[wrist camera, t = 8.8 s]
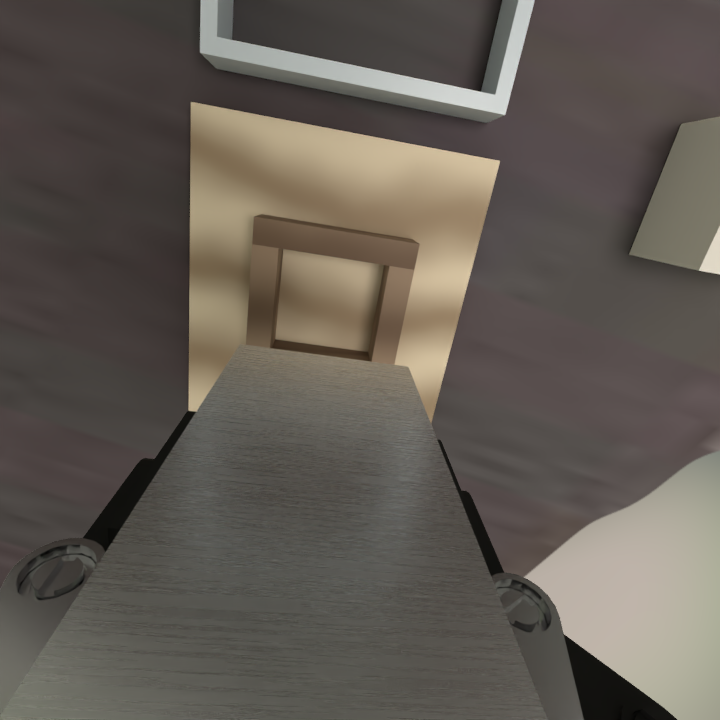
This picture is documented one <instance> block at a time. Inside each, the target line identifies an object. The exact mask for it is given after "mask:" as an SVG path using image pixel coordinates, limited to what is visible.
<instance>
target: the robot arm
mask: <svg viewBox="0 0 720 720" xmlns="http://www.w3.org/2000/svg"><path fill="white" fill-rule="evenodd" d="M195 413H196V412H194V411H188V412H187V413H186V414H185V416H184V417H183V418H182V420H181V421H180V423H179V424H178V426H177V427H176V429H175V430H174V432H173V433H172V435H171V436H170V437H169V439H168V440H167V442H166V443H165V445H164V446H163V448H162V449H161V451H160V452H159V454H158V455H157V456H156V458H155V459H147V458H144V459H142V460H141V461H140V462H139V463H138V464H137V465H136V467H135V468H134V469H133V471H132V472H131V473H130V475H129V476H128V477H127V479H126V480H125V482H124V483H123V484H122V486H121V487H120V488H119V490H118V491H117V492H116V494H115V495H114V496H113V498H112V499H111V501H110V502H109V503H108V505H107V506H106V507H105V509H104V510H103V511H102V513H101V514H100V515H99V517H98V518H97V520H96V521H95V522H94V524H93V525H92V526H91V528H90V529H89V530H88V532H87V533H86V535H85V536H84V537H83V538H68V539H63V540H59V541H54V542H52V543H49V544H47V545H44V546H42V547H39V548H38V549H36V550H34V551H33V552H31V553H29V554H28V555H26V556H25V557H24V558H23V559H21V560H20V561H19V562H18V563H17V564H16V565H15V566H14V567H13V568H12V570H11V571H10V573H9V574H8V576H7V577H6V579H5V581H4V583H3V585H2V587H1V589H0V715H1V714H2V712H3V710H4V709H5V707H6V706H7V704H8V703H9V701H10V700H11V698H12V696H13V695H14V693H15V692H16V690H17V689H18V687H19V686H20V684H21V683H22V681H23V679H24V678H25V676H26V675H27V673H28V672H29V670H30V669H31V667H32V666H33V664H34V662H35V661H36V659H37V658H38V656H39V655H40V653H41V652H42V650H43V648H44V647H45V645H46V644H47V642H48V641H49V639H50V638H51V636H52V635H53V633H54V631H55V630H56V628H57V627H58V625H59V624H60V622H61V621H62V619H63V617H64V616H65V614H66V613H67V611H68V610H69V608H70V607H71V605H72V604H73V602H74V600H75V599H76V597H77V596H78V594H79V593H80V591H81V590H82V588H83V586H84V585H85V583H86V582H87V580H88V579H89V577H90V576H91V574H92V573H93V571H94V569H95V568H96V566H97V565H98V563H99V562H100V560H101V559H102V557H103V556H104V554H105V552H106V551H107V549H108V548H109V546H110V545H111V543H112V542H113V540H114V538H115V537H116V535H117V534H118V532H119V531H120V529H121V528H122V526H123V525H124V523H125V521H126V520H127V518H128V517H129V515H130V514H131V512H132V511H133V509H134V507H135V506H136V504H137V503H138V501H139V500H140V498H141V497H142V495H143V494H144V492H145V490H146V489H147V487H148V486H149V484H150V483H151V481H152V480H153V478H154V476H155V475H156V473H157V472H158V470H159V469H160V467H161V466H162V464H163V463H164V461H165V459H166V458H167V456H168V455H169V453H170V452H171V450H172V449H173V447H174V445H175V444H176V442H177V441H178V439H179V438H180V436H181V435H182V433H183V432H184V430H185V428H186V427H187V425H188V424H189V422H190V421H191V419H192V418H193V416H194V415H195ZM438 443H439V446H440V448H441V451H442V453H443V456H444V458H445V461H446V463H447V466H448V468H449V471H450V473H451V476H452V479H453V481H454V484H455V486H456V489H457V491H458V494H459V496H460V499H461V501H462V504H463V506H464V509H465V511H466V514H467V517H468V519H469V522H470V524H471V527H472V529H473V532H474V534H475V537H476V539H477V542H478V544H479V547H480V550H481V552H482V555H483V557H484V560H485V562H486V565H487V567H488V570H489V572H490V575H491V577H492V580H493V583H494V585H495V588H496V590H497V593H498V595H499V598H500V600H501V603H502V605H503V608H504V610H505V613H506V615H507V618H508V621H509V623H510V626H511V628H512V631H513V633H514V636H515V638H516V641H517V643H518V646H519V648H520V651H521V654H522V656H523V659H524V661H525V664H526V666H527V669H528V671H529V674H530V676H531V679H532V681H533V684H534V687H535V689H536V692H537V694H538V697H539V699H540V702H541V704H542V707H543V709H544V712H545V714H546V717H547V719H548V720H677V719H676V718H675V717H674V716H673V715H671V714H670V713H669V712H668V711H667V710H665V709H664V708H663V707H662V706H660V705H659V704H658V703H656V702H655V701H654V700H652V699H651V698H650V697H648V696H647V695H646V694H644V693H643V692H641V691H640V690H639V689H637V688H636V687H635V686H633V685H632V684H631V683H629V682H628V681H627V680H625V679H624V678H622V677H621V676H620V675H618V674H617V673H616V672H614V671H613V670H612V669H610V668H609V667H608V666H606V665H605V664H603V663H602V662H601V661H599V660H598V659H597V658H595V657H594V656H593V655H591V654H590V653H588V652H587V651H586V650H584V649H583V648H582V647H580V646H579V645H578V644H576V643H575V642H574V641H572V640H571V639H569V638H568V637H567V636H565V635H564V634H563V630H562V626H561V621H560V617H559V615H558V612H557V609H556V607H555V605H554V604H553V602H552V601H551V600H550V598H549V596H548V595H547V594H546V593H545V592H544V591H543V590H542V589H540V587H538V586H537V585H535V584H534V583H532V582H531V581H529V580H528V579H526V578H523V577H521V576H519V575H516V574H511V573H504V571H503V569H502V567H501V564H500V562H499V560H498V557H497V555H496V553H495V550H494V548H493V546H492V543H491V541H490V539H489V537H488V534H487V532H486V530H485V527H484V525H483V523H482V520H481V518H480V516H479V513H478V511H477V509H476V506H475V504H474V502H473V499H472V497H471V495H470V494H469V493H468V492H467V491H461V489H460V486H459V484H458V481H457V479H456V477H455V474H454V472H453V469H452V467H451V464H450V462H449V459H448V457H447V454H446V452H445V449H444V447H443V444H442V442H441V441H440V440H438Z"/></svg>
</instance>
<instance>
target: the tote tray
mask: <svg viewBox="0 0 720 720" xmlns="http://www.w3.org/2000/svg"><path fill="white" fill-rule="evenodd" d="M534 1H535V0H502V4H501V8H500V12H499V16H498V21H497V25H496V29H495V34H494V38H493V42H492V46H491V51H490V55H489V59H488V63H487V68H486V72H485V76H484V81H483V85H482V89H481V92H479V91H474V90H470V89H465V88H460V87H455V86H450V85H446V84H441V83H436V82H431V81H426V80H422V79H417V78H412V77H407V76H402V75H398V74H393V73H388V72H383V71H379V70H374V69H369V68H364V67H359V66H355V65H350V64H345V63H340V62H335V61H331V60H326V59H321V58H316V57H311V56H307V55H302V54H297V53H292V52H288V51H283V50H278V49H273V48H268V47H264V46H259V45H254V44H249V43H244V42H240V41H235V40H232V30H233V4H234V0H201V10H200V53H201V54H202V55H203V56H204V57H205V58H206V59H207V60H208V61H209V62H210V63H211V64H212V65H213V66H214V67H215V68H216V69H220V70H225V71H230V72H235V73H240V74H245V75H250V76H255V77H260V78H265V79H270V80H275V81H280V82H285V83H290V84H295V85H300V86H305V87H310V88H315V89H319V90H324V91H329V92H334V93H339V94H344V95H349V96H354V97H359V98H364V99H369V100H374V101H379V102H384V103H389V104H394V105H399V106H404V107H409V108H414V109H419V110H424V111H429V112H434V113H439V114H444V115H449V116H454V117H459V118H464V119H469V120H474V121H479V122H484V123H488V122H490V121H493V120H495V119H497V118H499V117H502V116H504V115H505V114H506V110H507V106H508V102H509V98H510V94H511V90H512V87H513V83H514V79H515V75H516V71H517V67H518V63H519V59H520V56H521V52H522V48H523V44H524V40H525V36H526V32H527V28H528V24H529V21H530V17H531V13H532V9H533V5H534Z"/></svg>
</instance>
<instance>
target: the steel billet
mask: <svg viewBox="0 0 720 720" xmlns="http://www.w3.org/2000/svg"><path fill="white" fill-rule="evenodd" d="M0 720H548V719H547V717H546V714H545V712H544V709H543V707H542V704H541V702H540V699H539V697H538V694H537V692H536V689H535V687H534V684H533V681H532V679H531V676H530V674H529V671H528V669H527V666H526V664H525V661H524V659H523V656H522V654H521V651H520V648H519V646H518V643H517V641H516V638H515V636H514V633H513V631H512V628H511V626H510V623H509V621H508V618H507V615H506V613H505V610H504V608H503V605H502V603H501V600H500V598H499V595H498V593H497V590H496V588H495V585H494V583H493V580H492V577H491V575H490V572H489V570H488V567H487V565H486V562H485V560H484V557H483V555H482V552H481V550H480V547H479V544H478V542H477V539H476V537H475V534H474V532H473V529H472V527H471V524H470V522H469V519H468V517H467V514H466V511H465V509H464V506H463V504H462V501H461V499H460V496H459V494H458V491H457V489H456V486H455V484H454V481H453V479H452V476H451V473H450V471H449V468H448V466H447V463H446V461H445V458H444V456H443V453H442V451H441V448H440V446H439V443H438V440H437V438H436V435H435V433H434V430H433V428H432V425H431V423H430V420H429V418H428V415H427V413H426V410H425V407H424V405H423V402H422V400H421V397H420V395H419V392H418V390H417V387H416V385H415V382H414V380H413V377H412V375H411V372H410V369H409V367H407V366H400V365H392V364H385V363H377V362H370V361H363V360H355V359H348V358H340V357H333V356H325V355H318V354H311V353H303V352H296V351H288V350H281V349H273V348H266V347H259V346H251V345H244V344H240V345H239V346H238V348H237V349H236V351H235V353H234V354H233V356H232V357H231V359H230V360H229V362H228V363H227V365H226V366H225V368H224V370H223V371H222V373H221V374H220V376H219V377H218V379H217V380H216V382H215V384H214V385H213V387H212V388H211V390H210V391H209V393H208V394H207V396H206V397H205V399H204V401H203V402H202V404H201V405H200V407H199V408H198V410H197V411H196V413H195V415H194V416H193V418H192V419H191V421H190V422H189V424H188V425H187V427H186V428H185V430H184V432H183V433H182V435H181V436H180V438H179V439H178V441H177V442H176V444H175V445H174V447H173V449H172V450H171V452H170V453H169V455H168V456H167V458H166V459H165V461H164V463H163V464H162V466H161V467H160V469H159V470H158V472H157V473H156V475H155V476H154V478H153V480H152V481H151V483H150V484H149V486H148V487H147V489H146V490H145V492H144V494H143V495H142V497H141V498H140V500H139V501H138V503H137V504H136V506H135V507H134V509H133V511H132V512H131V514H130V515H129V517H128V518H127V520H126V521H125V523H124V525H123V526H122V528H121V529H120V531H119V532H118V534H117V535H116V537H115V538H114V540H113V542H112V543H111V545H110V546H109V548H108V549H107V551H106V552H105V554H104V556H103V557H102V559H101V560H100V562H99V563H98V565H97V566H96V568H95V569H94V571H93V573H92V574H91V576H90V577H89V579H88V580H87V582H86V583H85V585H84V586H83V588H82V590H81V591H80V593H79V594H78V596H77V597H76V599H75V600H74V602H73V604H72V605H71V607H70V608H69V610H68V611H67V613H66V614H65V616H64V617H63V619H62V621H61V622H60V624H59V625H58V627H57V628H56V630H55V631H54V633H53V635H52V636H51V638H50V639H49V641H48V642H47V644H46V645H45V647H44V648H43V650H42V652H41V653H40V655H39V656H38V658H37V659H36V661H35V662H34V664H33V666H32V667H31V669H30V670H29V672H28V673H27V675H26V676H25V678H24V679H23V681H22V683H21V684H20V686H19V687H18V689H17V690H16V692H15V693H14V695H13V696H12V698H11V700H10V701H9V703H8V704H7V706H6V707H5V709H4V710H3V712H2V714H1V715H0Z"/></svg>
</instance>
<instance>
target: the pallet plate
mask: <svg viewBox="0 0 720 720" xmlns="http://www.w3.org/2000/svg"><path fill="white" fill-rule="evenodd" d="M499 163H500V161H497V160H492V159H487V158H482V157H476V156H471V155H466V154H461V153H455V152H450V151H445V150H440V149H435V148H429V147H424V146H419V145H414V144H408V143H403V142H398V141H393V140H388V139H382V138H377V137H372V136H367V135H361V134H356V133H351V132H346V131H341V130H335V129H330V128H325V127H320V126H314V125H309V124H304V123H299V122H293V121H288V120H283V119H278V118H273V117H267V116H262V115H257V114H252V113H246V112H241V111H236V110H231V109H226V108H220V107H215V106H210V105H205V104H199V103H194V102H191V156H190V289H189V411H194V412H196V411H197V410H198V408H199V407H200V405H201V404H202V402H203V401H204V399H205V397H206V396H207V394H208V393H209V391H210V390H211V388H212V387H213V385H214V384H215V382H216V380H217V379H218V377H219V376H220V374H221V373H222V371H223V370H224V368H225V366H226V365H227V363H228V362H229V360H230V359H231V357H232V356H233V354H234V353H235V351H236V349H237V348H238V346H239V345H240V344H244V345H251V346H259V347H266V348H273V349H281V350H288V351H296V352H303V353H311V354H318V355H325V356H333V357H340V358H348V359H355V360H363V361H370V362H377V363H385V364H392V365H400V366H407V367H409V369H410V372H411V375H412V377H413V380H414V382H415V385H416V387H417V390H418V392H419V395H420V397H421V400H422V402H423V405H424V407H425V410H426V413H427V415H428V418H429V420H430V423H431V422H432V418H433V414H434V410H435V406H436V403H437V399H438V395H439V391H440V387H441V384H442V380H443V376H444V372H445V368H446V365H447V361H448V357H449V353H450V349H451V346H452V342H453V338H454V334H455V330H456V327H457V323H458V319H459V315H460V311H461V308H462V304H463V300H464V296H465V292H466V289H467V285H468V281H469V277H470V273H471V270H472V266H473V262H474V258H475V254H476V251H477V247H478V243H479V239H480V235H481V232H482V228H483V224H484V220H485V217H486V213H487V209H488V205H489V201H490V198H491V194H492V190H493V186H494V182H495V179H496V175H497V171H498V167H499Z"/></svg>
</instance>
